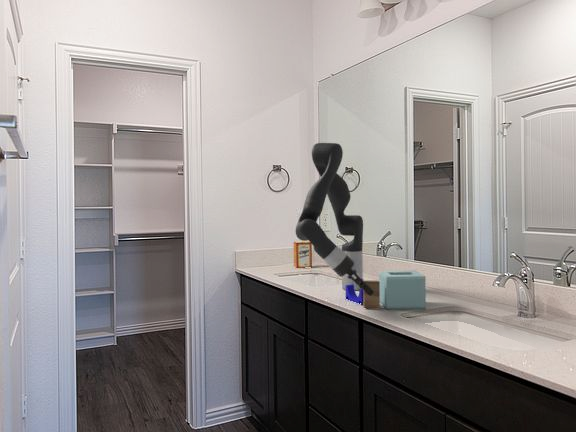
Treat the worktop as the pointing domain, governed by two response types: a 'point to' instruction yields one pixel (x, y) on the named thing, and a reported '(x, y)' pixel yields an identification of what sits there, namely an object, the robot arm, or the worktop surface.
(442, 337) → the worktop surface
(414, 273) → the box
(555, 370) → the worktop surface
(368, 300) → the brown wooden block
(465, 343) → the worktop surface
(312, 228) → the robot arm
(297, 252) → the baking soda box
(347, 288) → the cable clip
